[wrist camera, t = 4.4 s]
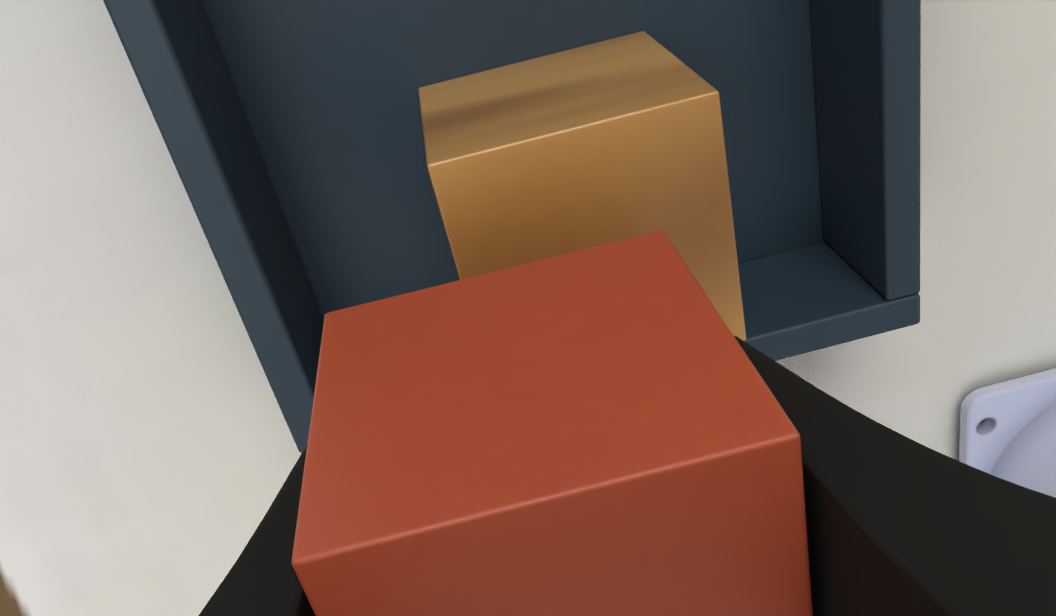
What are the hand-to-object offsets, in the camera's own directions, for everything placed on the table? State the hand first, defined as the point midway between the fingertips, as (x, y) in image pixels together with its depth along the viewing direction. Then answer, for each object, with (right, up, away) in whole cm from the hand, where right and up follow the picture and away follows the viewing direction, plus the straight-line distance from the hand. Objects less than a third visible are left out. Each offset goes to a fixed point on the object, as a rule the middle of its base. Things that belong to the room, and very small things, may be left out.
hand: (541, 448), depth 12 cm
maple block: (0, +5, +7) cm, 8 cm away
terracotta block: (0, 0, +1) cm, 1 cm away
